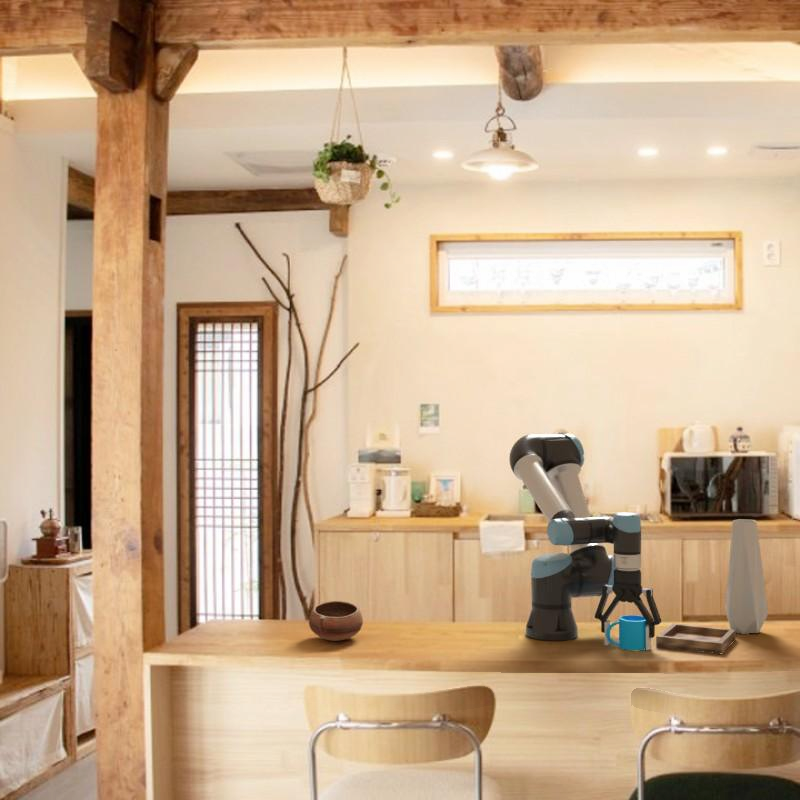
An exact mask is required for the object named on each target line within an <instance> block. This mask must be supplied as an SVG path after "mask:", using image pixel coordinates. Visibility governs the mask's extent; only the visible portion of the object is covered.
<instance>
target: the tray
mask: <svg viewBox="0 0 800 800" xmlns="http://www.w3.org/2000/svg"><path fill="white" fill-rule="evenodd" d="M736 635H737V633H736V630H734V629H731V628H723V627H715V626H714V627H713V626H712V627H711V626H703V625H702V626H701V625H693V624H683V623H674V622H673V623H671V624H669V626H667V627H666V628H665V629H663V630H662V631H661V632H659V633H658V634H657V635H656V636H655V639H656V640H655V641H656V643H655V644H656V645H655V646H658V647H657V648H661V647H667V648H666V649H670V648H673V649H672V650H678V649H680V650H679V651H687V650H692V651H691V652H696V651H702V652H701V653H705V652H713V653H723V652H724V651H725V650H726V649H727V648H728V647H729V645H730V644H731V643H732V642H733V641H734V640H735V639H736V640H737V638H736V637H737V636H736ZM736 640H735V641H736ZM735 641H734V642H735ZM734 642H733V643H734ZM733 643H732V644H733ZM729 648H730V647H729ZM729 648H728V649H729ZM728 649H727V650H728ZM727 650H726V651H727ZM703 651H704V652H703ZM726 651H725V652H726ZM725 652H724V653H725ZM713 653H712V654H713ZM724 653H723V654H724Z"/></svg>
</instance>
